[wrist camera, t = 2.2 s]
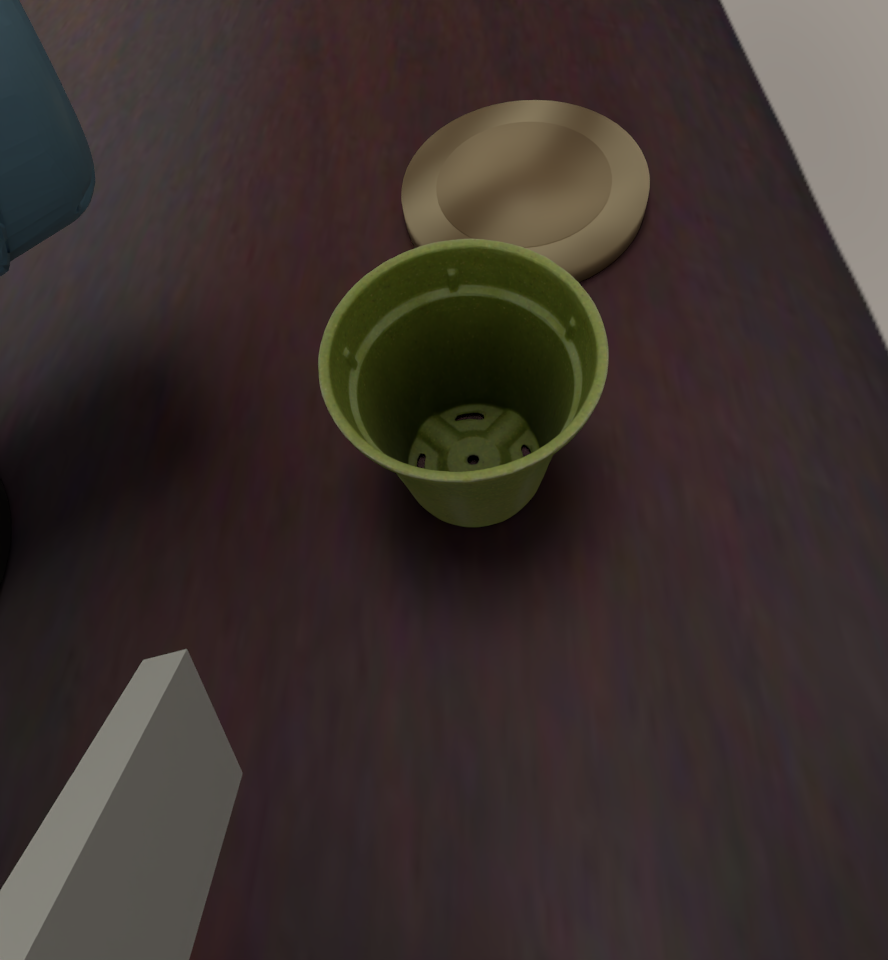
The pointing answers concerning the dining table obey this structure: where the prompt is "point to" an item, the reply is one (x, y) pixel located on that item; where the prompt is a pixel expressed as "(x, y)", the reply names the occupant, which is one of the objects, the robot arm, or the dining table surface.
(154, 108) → the dining table surface
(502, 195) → the plate
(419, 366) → the plant pot
